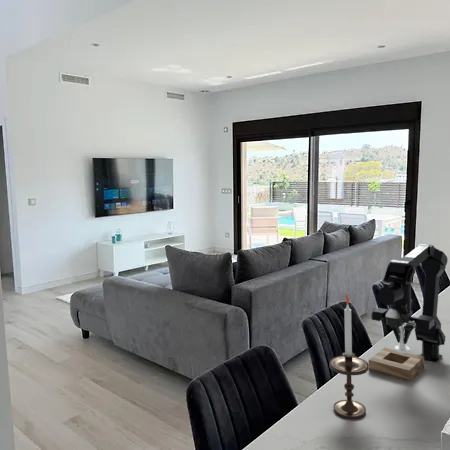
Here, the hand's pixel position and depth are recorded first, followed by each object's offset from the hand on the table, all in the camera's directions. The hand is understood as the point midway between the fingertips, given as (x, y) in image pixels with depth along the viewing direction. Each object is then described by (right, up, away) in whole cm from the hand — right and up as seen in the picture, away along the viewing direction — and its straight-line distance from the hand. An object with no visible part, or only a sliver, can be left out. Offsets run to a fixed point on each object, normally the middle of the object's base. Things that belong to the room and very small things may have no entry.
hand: (402, 342), depth 141 cm
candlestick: (-23, -15, -18) cm, 33 cm away
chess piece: (0, -3, 0) cm, 3 cm away
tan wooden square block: (+1, -11, +7) cm, 14 cm away
